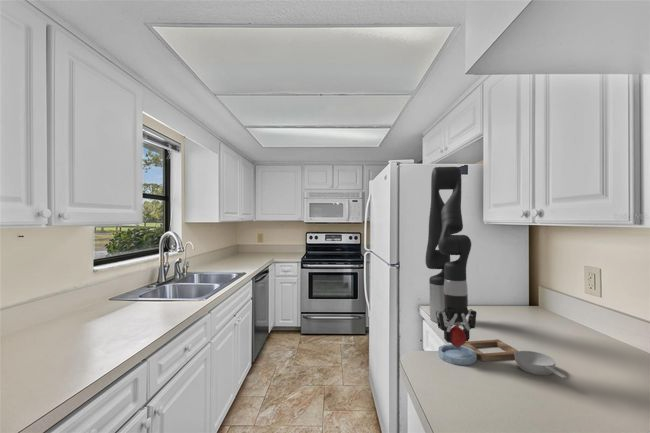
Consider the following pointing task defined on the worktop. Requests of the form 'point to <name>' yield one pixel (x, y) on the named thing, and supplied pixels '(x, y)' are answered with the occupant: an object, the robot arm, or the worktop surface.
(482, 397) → the worktop surface
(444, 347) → the dish
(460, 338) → the onion
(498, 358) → the frame
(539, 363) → the saucepan
